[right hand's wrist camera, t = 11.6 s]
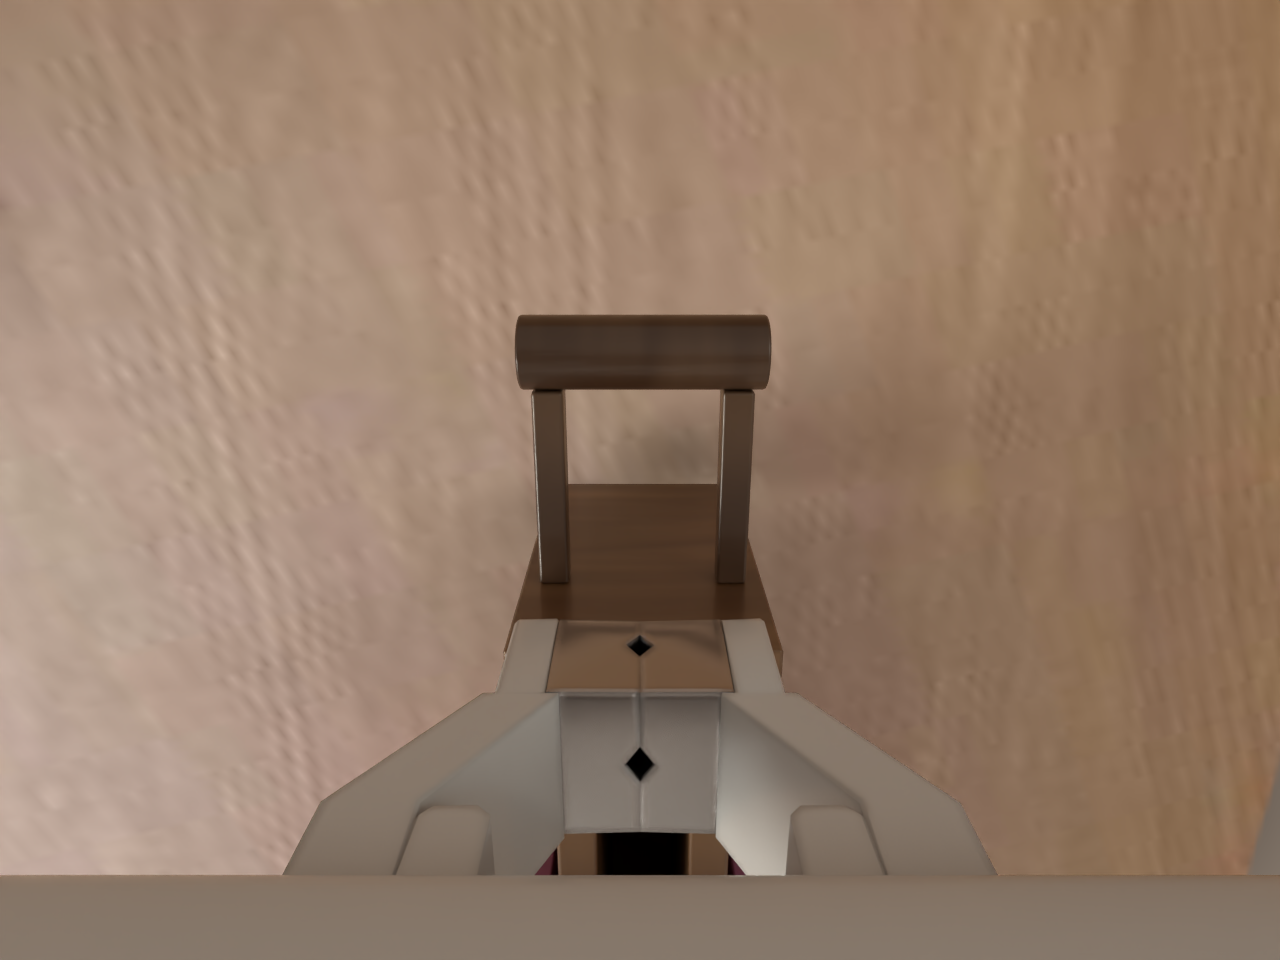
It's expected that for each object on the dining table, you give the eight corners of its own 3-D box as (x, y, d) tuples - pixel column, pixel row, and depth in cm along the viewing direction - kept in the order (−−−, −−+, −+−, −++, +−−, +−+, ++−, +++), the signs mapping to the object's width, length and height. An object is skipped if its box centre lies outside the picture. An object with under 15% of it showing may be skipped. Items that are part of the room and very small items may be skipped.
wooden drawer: (543, 280, 20) (482, 343, 12) (740, 280, 20) (805, 342, 12) (571, 986, 29) (545, 1295, 21) (711, 986, 29) (739, 1294, 21)
